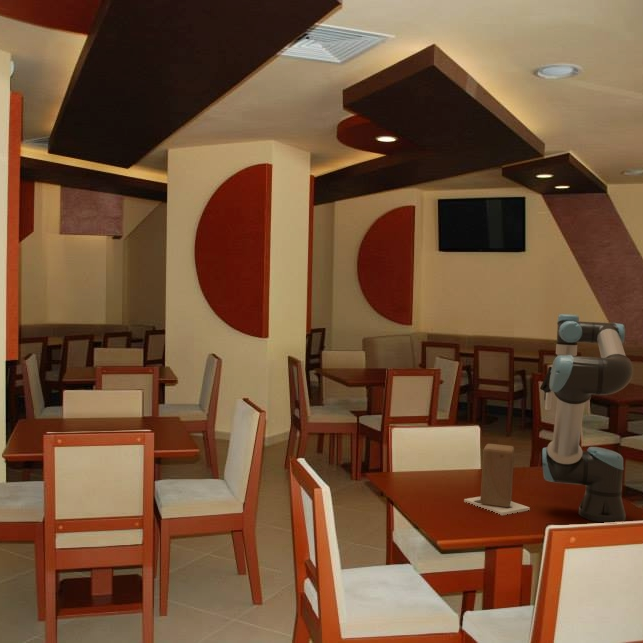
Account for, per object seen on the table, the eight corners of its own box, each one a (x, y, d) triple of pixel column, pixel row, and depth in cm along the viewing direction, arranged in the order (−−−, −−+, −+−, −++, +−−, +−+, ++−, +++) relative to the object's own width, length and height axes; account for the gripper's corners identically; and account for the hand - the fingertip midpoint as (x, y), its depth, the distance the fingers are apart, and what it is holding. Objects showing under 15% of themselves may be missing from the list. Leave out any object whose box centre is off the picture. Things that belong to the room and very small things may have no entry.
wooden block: (509, 508, 269) (512, 451, 268) (479, 504, 272) (483, 447, 271) (511, 501, 278) (514, 445, 277) (483, 497, 281) (486, 442, 280)
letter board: (529, 510, 272) (529, 506, 272) (501, 515, 264) (502, 512, 264) (491, 497, 286) (491, 494, 286) (463, 501, 279) (464, 498, 278)
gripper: (601, 359, 282) (597, 417, 283) (545, 352, 302) (542, 406, 303) (588, 359, 277) (584, 418, 279) (533, 352, 298) (529, 407, 299)
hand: (562, 412), depth 291 cm, fingers open, 13 cm apart
